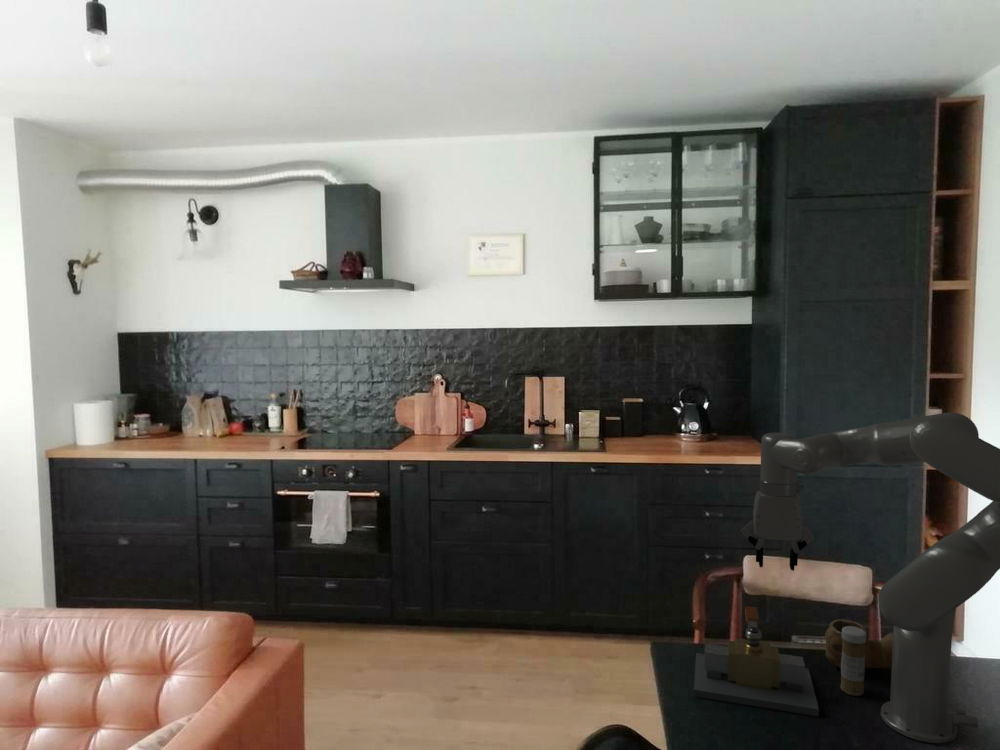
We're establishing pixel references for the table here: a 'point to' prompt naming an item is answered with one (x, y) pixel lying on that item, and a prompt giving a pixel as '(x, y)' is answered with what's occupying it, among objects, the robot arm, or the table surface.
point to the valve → (754, 665)
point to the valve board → (755, 692)
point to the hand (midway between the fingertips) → (776, 566)
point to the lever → (752, 623)
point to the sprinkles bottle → (853, 660)
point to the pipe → (875, 651)
